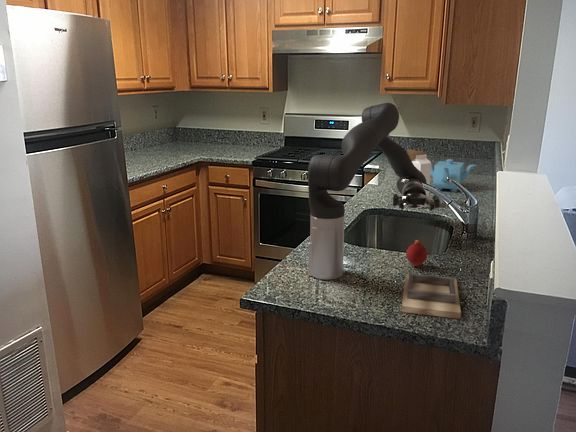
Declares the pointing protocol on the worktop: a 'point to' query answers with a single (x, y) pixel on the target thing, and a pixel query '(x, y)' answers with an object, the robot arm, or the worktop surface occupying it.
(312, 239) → the robot arm
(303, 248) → the worktop surface
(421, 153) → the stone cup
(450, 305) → the tray
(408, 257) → the red rounded piece
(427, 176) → the milk
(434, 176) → the teakettle
